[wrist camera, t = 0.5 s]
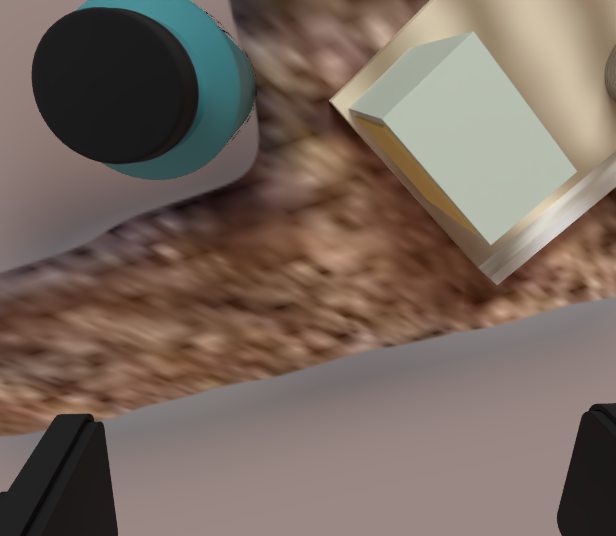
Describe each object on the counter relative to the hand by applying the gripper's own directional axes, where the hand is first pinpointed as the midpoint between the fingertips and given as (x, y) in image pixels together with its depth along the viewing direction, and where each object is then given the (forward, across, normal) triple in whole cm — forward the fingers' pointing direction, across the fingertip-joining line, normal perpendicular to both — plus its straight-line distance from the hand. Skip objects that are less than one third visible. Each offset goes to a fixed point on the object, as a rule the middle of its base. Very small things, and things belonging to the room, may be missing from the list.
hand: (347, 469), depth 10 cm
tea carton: (+24, -8, -5) cm, 26 cm away
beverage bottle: (+26, +6, -7) cm, 28 cm away
